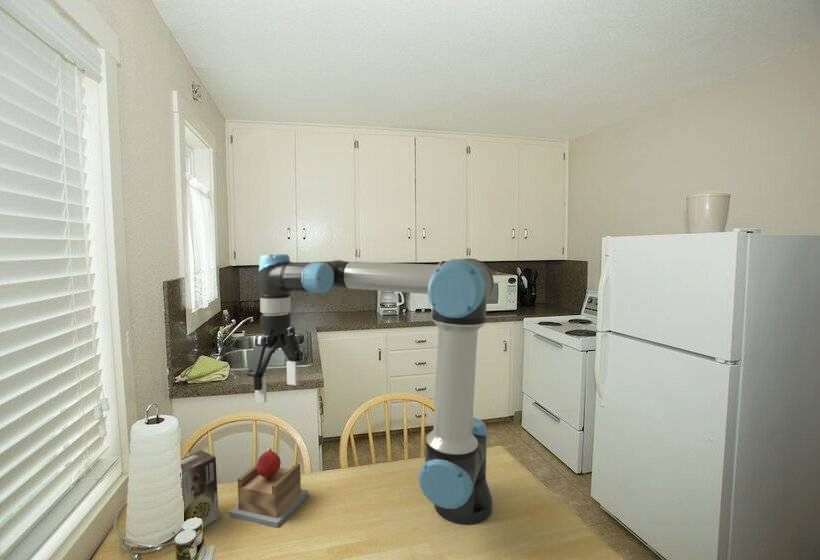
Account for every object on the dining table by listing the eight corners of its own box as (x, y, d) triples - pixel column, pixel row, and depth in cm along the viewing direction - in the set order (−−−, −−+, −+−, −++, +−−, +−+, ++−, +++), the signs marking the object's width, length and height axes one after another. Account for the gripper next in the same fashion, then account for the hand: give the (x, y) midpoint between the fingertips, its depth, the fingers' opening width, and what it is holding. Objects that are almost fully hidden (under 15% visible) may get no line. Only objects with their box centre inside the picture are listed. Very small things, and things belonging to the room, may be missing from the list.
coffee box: (203, 509, 105) (201, 449, 104) (219, 518, 102) (217, 455, 101) (167, 530, 98) (164, 465, 96) (183, 540, 94) (180, 473, 93)
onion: (273, 486, 103) (272, 455, 103) (252, 483, 105) (251, 453, 104) (284, 473, 109) (284, 444, 109) (265, 471, 110) (264, 442, 110)
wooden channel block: (300, 492, 111) (300, 464, 110) (276, 518, 100) (275, 486, 100) (265, 485, 114) (265, 457, 113) (238, 509, 104) (237, 479, 103)
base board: (308, 494, 112) (308, 490, 112) (277, 527, 99) (277, 523, 99) (264, 485, 116) (264, 481, 116) (229, 516, 103) (229, 511, 103)
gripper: (290, 306, 120) (291, 377, 122) (229, 320, 96) (232, 408, 98) (313, 307, 118) (314, 379, 120) (256, 322, 94) (258, 412, 96)
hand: (277, 392), depth 109 cm, fingers open, 13 cm apart
